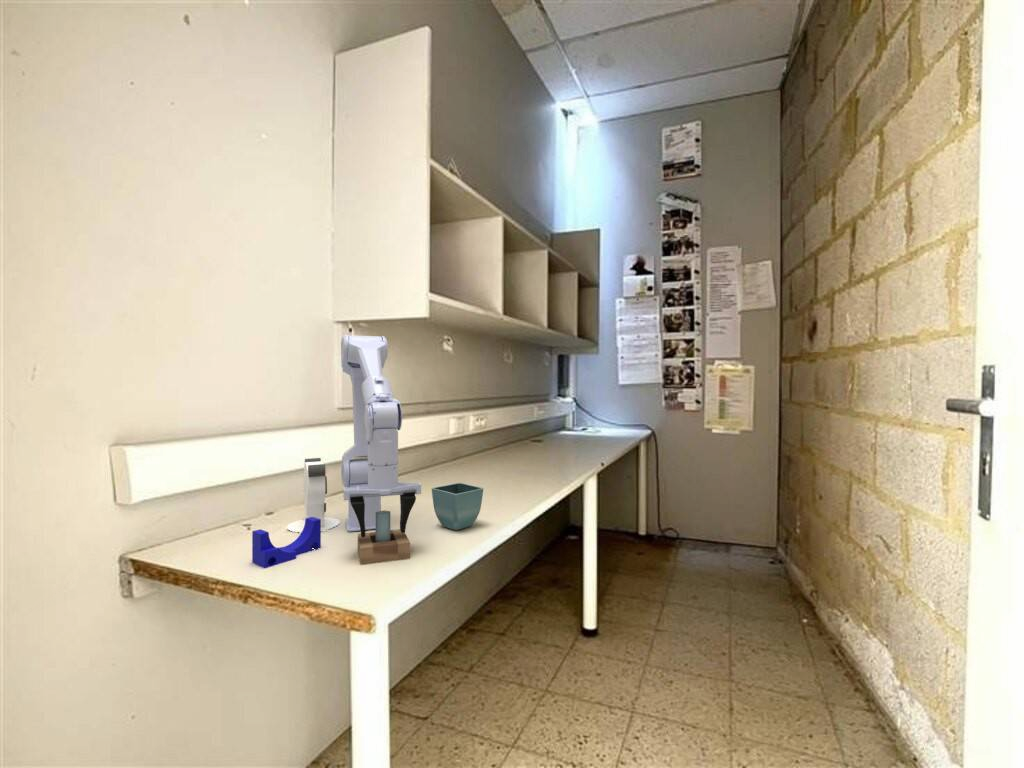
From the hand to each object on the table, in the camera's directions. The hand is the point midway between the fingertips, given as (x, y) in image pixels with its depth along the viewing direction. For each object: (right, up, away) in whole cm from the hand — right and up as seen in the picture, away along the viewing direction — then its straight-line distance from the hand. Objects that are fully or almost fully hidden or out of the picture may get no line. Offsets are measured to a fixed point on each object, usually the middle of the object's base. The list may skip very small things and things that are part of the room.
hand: (383, 533), depth 95 cm
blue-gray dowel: (0, -4, 0) cm, 4 cm away
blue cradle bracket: (-17, -4, -1) cm, 18 cm away
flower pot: (+13, -4, +18) cm, 22 cm away
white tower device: (-21, -4, +18) cm, 28 cm away
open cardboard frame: (0, -4, 0) cm, 4 cm away
